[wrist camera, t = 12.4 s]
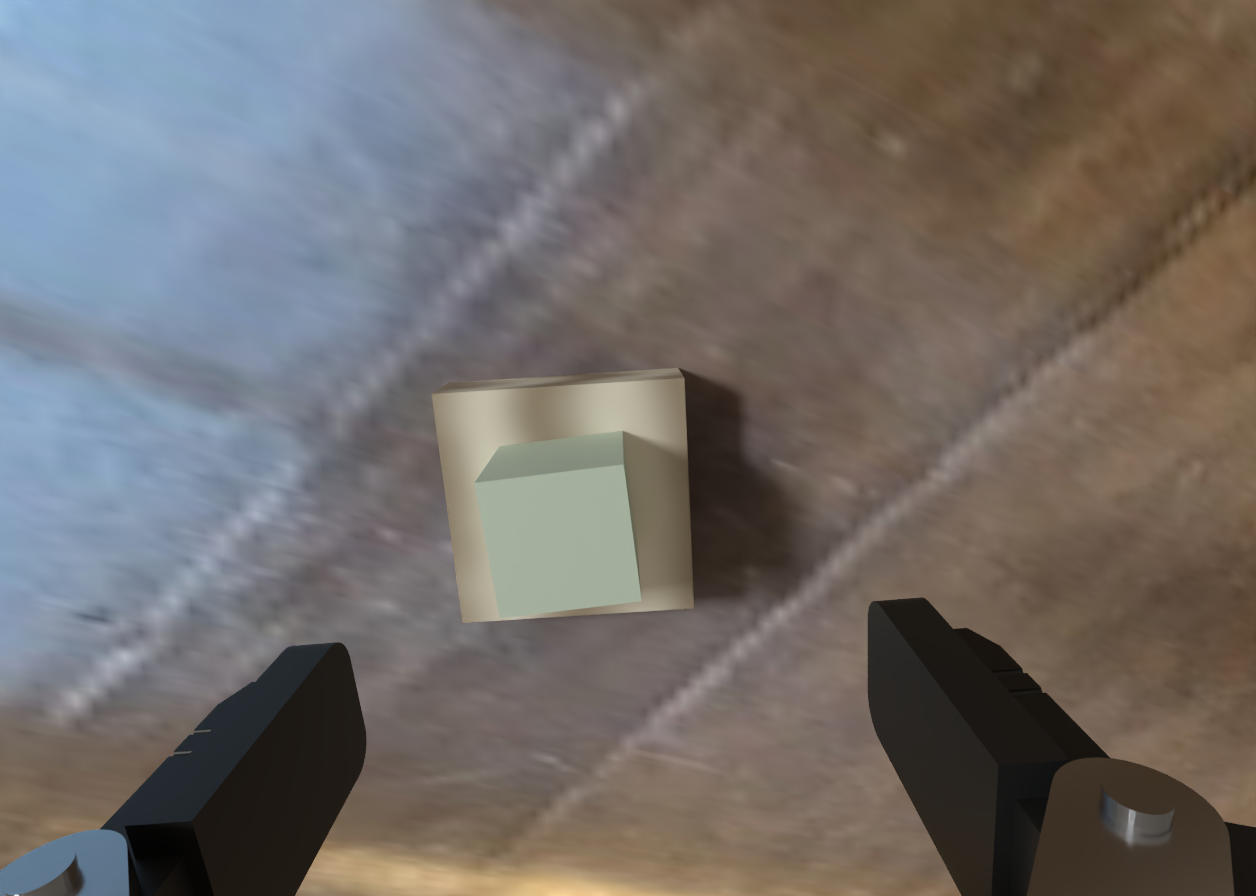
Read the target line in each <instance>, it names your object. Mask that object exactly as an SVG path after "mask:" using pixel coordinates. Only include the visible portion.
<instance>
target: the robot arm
mask: <svg viewBox="0 0 1256 896" xmlns="http://www.w3.org/2000/svg"><path fill="white" fill-rule="evenodd" d="M868 700H869V708H870V713H871V718H872V722H873V725H874V728H875V731H876V734H877V736H878V738H879V740H880V742H881V744H882V746H883V748H884V750H885V752H886V753H887V755H888V757H889V759H890V761H891V763H892V765H893V767H894V769H895V771H896V772H897V774H898V776H899V778H900V780H901V782H902V784H903V786H904V788H905V789H906V791H907V793H908V795H909V797H910V799H911V801H912V803H913V805H914V806H915V808H916V810H917V812H918V814H919V816H920V818H921V820H922V822H923V823H924V825H925V827H926V829H927V831H928V833H929V835H930V837H931V839H932V840H933V842H934V844H935V846H936V848H937V850H938V852H939V854H940V856H941V857H942V859H943V861H944V863H945V865H946V867H947V869H948V871H949V873H950V875H951V876H952V878H953V880H954V882H955V884H956V886H957V888H958V890H959V892H960V893H961V895H962V896H1256V827H1250V826H1244V825H1238V824H1233V823H1228V822H1224V821H1223V819H1222V817H1221V816H1220V815H1219V813H1218V812H1217V811H1216V810H1215V808H1214V807H1213V806H1212V805H1211V804H1209V803H1208V802H1207V801H1206V800H1205V799H1204V798H1203V797H1202V796H1200V795H1199V794H1198V793H1196V792H1195V791H1194V790H1192V789H1191V788H1189V787H1188V786H1186V785H1185V784H1183V783H1181V782H1180V781H1178V780H1176V779H1174V778H1172V777H1170V776H1168V775H1166V774H1164V773H1161V772H1159V771H1157V770H1154V769H1152V768H1149V767H1146V766H1143V765H1140V764H1136V763H1132V762H1128V761H1124V760H1118V759H1112V758H1110V757H1109V756H1108V755H1107V754H1106V753H1105V752H1104V751H1103V750H1102V749H1101V748H1100V747H1099V746H1098V745H1097V744H1096V743H1095V742H1094V741H1093V740H1092V739H1091V738H1090V737H1089V736H1088V735H1087V734H1086V733H1085V732H1084V731H1083V730H1082V729H1081V728H1080V727H1079V726H1078V725H1077V724H1076V723H1075V722H1074V721H1073V720H1072V719H1071V718H1070V717H1069V716H1068V715H1067V714H1066V713H1065V712H1064V710H1063V709H1062V708H1061V707H1060V706H1059V705H1058V704H1057V703H1056V702H1055V701H1054V700H1053V699H1052V698H1051V697H1050V696H1049V695H1048V694H1047V693H1042V690H1041V687H1040V686H1039V685H1038V684H1037V683H1036V682H1035V681H1034V680H1033V679H1032V678H1031V677H1030V676H1029V675H1028V674H1027V673H1023V671H1022V668H1021V667H1020V666H1019V665H1018V664H1017V663H1016V662H1015V661H1014V660H1013V659H1012V658H1011V657H1010V655H1009V654H1008V653H1007V652H1006V651H1005V650H1004V649H1003V648H1002V647H1001V646H999V645H997V644H996V643H994V642H992V641H990V640H988V639H986V638H985V637H983V636H981V635H979V634H977V633H975V632H973V631H972V630H970V629H968V628H961V629H953V628H952V627H951V626H950V625H949V624H948V623H947V622H946V620H945V619H944V618H943V617H942V616H941V615H940V614H939V613H938V612H937V610H936V609H935V608H934V607H933V606H932V605H931V604H930V603H929V601H927V600H926V599H925V598H910V599H897V600H885V601H873V602H872V603H871V604H870V606H869V610H868ZM365 753H366V730H365V725H364V720H363V715H362V711H361V706H360V701H359V697H358V692H357V688H356V683H355V678H354V674H353V669H352V664H351V660H350V656H349V653H348V650H347V649H346V647H345V646H344V645H343V644H342V643H338V642H337V643H325V644H312V645H299V646H290V647H288V648H286V649H285V650H284V651H283V652H282V653H281V654H280V655H279V657H278V658H277V659H276V660H275V661H274V662H273V663H272V664H271V665H270V666H269V668H268V669H267V670H266V671H265V672H264V673H263V674H262V675H261V676H260V677H259V679H258V680H257V681H256V682H252V683H250V684H249V685H247V686H245V687H244V688H242V689H241V690H239V691H238V692H236V693H235V694H233V695H232V696H230V697H229V698H227V699H226V700H224V701H223V702H221V703H220V704H218V705H217V706H216V707H215V708H214V709H213V711H212V712H211V713H210V714H209V715H208V716H207V717H206V718H205V719H204V720H203V721H202V722H201V723H200V724H199V725H198V726H197V727H196V728H195V730H194V735H189V736H188V737H187V738H186V739H185V740H184V741H183V742H182V743H181V744H180V745H179V746H178V747H177V748H176V750H175V751H174V756H171V757H168V758H167V759H166V760H165V761H164V762H163V763H162V764H161V765H160V766H159V767H158V768H157V770H156V771H155V772H154V773H153V774H152V775H151V776H150V777H149V778H148V779H147V780H146V781H145V782H144V783H143V784H142V785H141V786H140V787H139V789H138V790H137V791H136V792H135V793H134V794H133V795H132V796H131V797H130V798H129V799H128V800H127V801H126V802H125V803H124V804H123V805H122V806H121V807H120V809H119V810H118V811H117V812H116V813H115V814H114V815H113V816H112V817H111V818H110V819H109V820H108V821H107V822H106V823H105V824H104V825H103V826H102V828H101V829H98V830H88V831H84V832H79V833H75V834H72V835H68V836H65V837H62V838H60V839H57V840H54V841H52V842H49V843H47V844H45V845H43V846H41V847H39V848H36V849H34V850H33V851H31V852H29V853H27V854H25V855H23V856H22V857H20V858H18V859H17V860H15V861H14V862H12V863H10V864H9V865H7V866H6V867H5V868H3V869H2V870H0V896H295V894H296V892H297V890H298V889H299V887H300V885H301V883H302V881H303V879H304V877H305V876H306V874H307V872H308V870H309V868H310V866H311V864H312V863H313V861H314V859H315V857H316V855H317V853H318V851H319V849H320V848H321V846H322V844H323V842H324V840H325V838H326V836H327V835H328V833H329V831H330V829H331V827H332V825H333V823H334V822H335V820H336V818H337V816H338V814H339V812H340V810H341V809H342V807H343V805H344V803H345V801H346V799H347V797H348V795H349V794H350V792H351V790H352V788H353V786H354V784H355V782H356V781H357V779H358V777H359V775H360V773H361V770H362V767H363V763H364V759H365Z"/></svg>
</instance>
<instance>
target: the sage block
mask: <svg viewBox="0 0 1256 896" xmlns="http://www.w3.org/2000/svg"><path fill="white" fill-rule="evenodd" d="M474 484H475V490H476V495H477V500H478V506H479V511H480V516H481V521H482V527H483V532H484V537H485V543H486V548H487V553H488V558H489V564H490V569H491V574H492V579H493V585H494V590H495V595H496V601H497V606H498V611H499V616H500V618H508V617H517V616H525V615H533V614H541V613H550V612H558V611H566V610H574V609H582V608H591V607H599V606H607V605H615V604H624V603H632V602H640V601H642V599H641V585H640V572H639V558H638V546H637V538H636V530H635V523H634V515H633V507H632V500H631V492H630V484H629V477H628V469H627V461H626V454H625V446H624V438H623V431H617V432H609V433H601V434H593V435H585V436H577V437H569V438H561V439H553V440H545V441H537V442H529V443H521V444H513V445H505V446H499V448H498V449H497V450H496V452H495V453H494V455H493V456H492V458H491V459H490V461H489V462H488V464H487V465H486V467H485V468H484V469H483V471H482V472H481V474H480V475H479V477H478V478H477V480H476V481H475V483H474Z"/></svg>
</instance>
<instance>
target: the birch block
mask: <svg viewBox="0 0 1256 896" xmlns="http://www.w3.org/2000/svg"><path fill="white" fill-rule="evenodd" d="M432 400H433V407H434V415H435V422H436V429H437V437H438V444H439V452H440V459H441V467H442V474H443V481H444V489H445V496H446V504H447V511H448V518H449V526H450V533H451V541H452V548H453V555H454V563H455V570H456V578H457V585H458V592H459V600H460V607H461V615H462V622H463V623H467V622H483V621H499V620H515V619H531V618H547V617H563V616H579V615H595V614H611V613H627V612H643V611H659V610H675V609H691V608H694V595H693V571H692V547H691V524H690V500H689V476H688V452H687V428H686V404H685V381H684V377H683V375H682V373H681V372H680V370H679V369H678V368H671V369H655V370H640V371H624V372H608V373H593V374H577V375H562V376H546V377H530V378H515V379H499V380H484V381H468V382H452V383H448V384H447V385H445V386H443V387H442V388H440V389H439V390H437V391H436V392H434V393H433V394H432ZM617 431H623V438H624V446H625V454H626V461H627V469H628V477H629V484H630V492H631V500H632V507H633V515H634V523H635V530H636V538H637V546H638V558H639V572H640V585H641V599H642V601H640V602H632V603H624V604H615V605H607V606H599V607H591V608H582V609H574V610H566V611H558V612H550V613H541V614H533V615H525V616H517V617H508V618H500V616H499V611H498V606H497V601H496V595H495V590H494V585H493V579H492V574H491V569H490V564H489V558H488V553H487V548H486V543H485V537H484V532H483V527H482V521H481V516H480V511H479V506H478V500H477V495H476V490H475V484H474V483H475V481H476V480H477V478H478V477H479V475H480V474H481V472H482V471H483V469H484V468H485V467H486V465H487V464H488V462H489V461H490V459H491V458H492V456H493V455H494V453H495V452H496V450H497V449H498V448H499V446H505V445H513V444H521V443H529V442H537V441H545V440H553V439H561V438H569V437H577V436H585V435H593V434H601V433H609V432H617Z"/></svg>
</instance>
